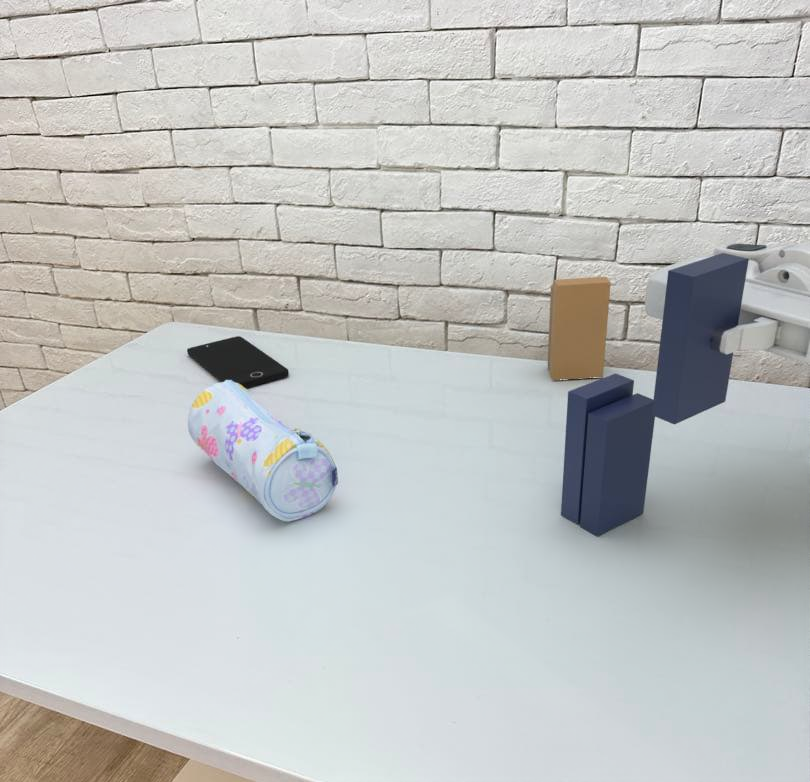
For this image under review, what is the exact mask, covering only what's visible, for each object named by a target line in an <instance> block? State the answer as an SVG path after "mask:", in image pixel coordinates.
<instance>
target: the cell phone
mask: <svg viewBox="0 0 810 782" xmlns="http://www.w3.org/2000/svg"><path fill="white" fill-rule="evenodd" d="M186 353H187V355H188V356H190V357H191V358H192V359H193V360H194V361H196V362H197V363H198V364H199V365H201V366H202V367H203V368H204V369H205V370H207V372H209V373H211V375H213V376H214V377H215V378H216V379H217V380H219V381H220V382H224V381H225V380H232V381H233V382H235V383H239V384H240V385H242V386H243V387H244V388H246V389H247V388H250V387H255V386H258V385H262V384H265V383H268V382H272V381H277V380H280V379H284V378H286V377H288V376H289V374H290V373H289V369H288V368H287V367H285V366H284V365H282V364H281V362H278V361H277V360H275V359H274V358H272V356H270V355H269V354H267V353H266V352H264V351H263V350H261V349H259V348H258V347H257V346H256V345H254V344H252V343H251V342H250V341H248V340H247V339H245V338H244V337H242V336H241V335H237V336H232V337H229V338H224V339H221V340H216V341H212V342H208V343H204V344H200V345H195V346H191V347H188V348H187V349H186Z"/></svg>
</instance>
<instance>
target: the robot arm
mask: <svg viewBox="0 0 810 782" xmlns="http://www.w3.org/2000/svg"><path fill="white" fill-rule="evenodd" d="M721 253H726V254H730V255H735V256H739V257H744V258H748V259H749V261H748V267H747V273H746V279H745V285H744V291H743V297H742V303H741V309H740V315H739V321H738V326H733V325H729V324H726V325H723V326H721V327H718V328H716V329H715V330H714V331H713V333H712V337H711V338H712V342H711V344H710V348H711V349H712V350H715V351H718V352H721V353H724V354H730V353H732V352H733V353H734V352H735V353H736V352H737V351H763V352H766V353H770V354H772V355H776V356H779V357H783V358H786V359H789V360H792V361H795V362H799V363H802V364H805V365H809V366H810V239H809V240H807V241H806V240H805V241H803V242H800V243H798V242H796V241H795V242H793V241H792V242H786V243H780V244H768V245H766V244H752V243H751V244H750V243H730V242H729V243H727V242H726V243H721V244H720V245H717V246H716V247H714V250H713V254H705V255H698V256H694V257H690V258H687V259H684V260H681V261H678V262H675V263H673V264H670V265H667V266H665V267H662V268H659V269H657V270H656V271H654V272H652V273H651V274H650V275H649V276H648V279H647V283H646V289H645V296H644V312H645V314H646V315H647V316H649V317H652V318H655V319H658V320H661V321H663V313H664V304H665V295H666V286H667V278H668V271H669V270H672V269H675V268H678V267H681V266H684V265H687V264H690V263H693V262H696V261H700V260H703V259H706V258H709V257H712V256H715V255H718V254H721Z"/></svg>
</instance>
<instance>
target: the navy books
mask: <svg viewBox="0 0 810 782" xmlns="http://www.w3.org/2000/svg"><path fill="white" fill-rule="evenodd" d="M634 387H635V379H631V378H629V377H627V376H623V375H621V374H618V373H616V372H615V373H612V374H610V375H608V376H604V377H603V378H598V379H596V380H594V381H591V382H589V383H587V384H583V385H581V386H578V387H577V388H574V389H570V390H568V391H567V403H566V405H567V406H566V419H565V421H566V422H565V438H564V452H563V453H564V454H563V469H562V471H563V473H562V487H561V488H562V490H561V507H560V515H561V516H562V517H564V518H565V519H567V520H569V521H571V522H573V523H575V524H576V525H579V527H580V528H582V529H583V530H585V531H587V532H588V533H590V534H592V535H594V536H595V537H599V536H602V535H604V534H605V533H606V534H607V532H609V531H611V530H612V531H613V530H614V529H615V528H619V526H622V525H623V524H625V523H627V522H630V521H632V520H634V519H635V518H638V517H639V516H641V515H643V514H644V510H645V502H646V493H647V485H648V479H649V471H650V461H651V453H652V444H653V436H654V429H655V420H656V417H655V416H652V409H653V400H654V398H651V397H649V396H646V395H643V394H640V393H634Z"/></svg>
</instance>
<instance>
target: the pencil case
mask: <svg viewBox="0 0 810 782" xmlns="http://www.w3.org/2000/svg"><path fill="white" fill-rule="evenodd" d="M187 429H188V433H189V435H190V438H191V439H192V440H193V442H194V443H195V445H197V447H199V449H201V450H202V451H203V452H204V453H205V454H206V455H207V456H208V457H209V459H211V460H212V461H213V462H214V463H215V464H216V465H217V466H218V467H219V468H220V469H221V470H223V471H224V472H225V473H227V474H228V475H229V476H230V477H231V478H232V479H233V480H234V481H236V482H237V483H238V484H239V485H240V486H242V487H243V489H245V490H246V492H248V493H249V494H250V495H251V496H253V497H254V498H255V499H256V500H257V502H259V503H260V504H261V505H262V506H263V508H264V509H265V511H266V512H268V513H269V514H270V515H271V516H273V517H274V518H276V519H278V520H280V521H282V522H293V521H297V520H300V519H303V518H306V517H309V516H311V515H313V514H315V513H317V512H319V511H320V510H321V509H322V508H323V507H325V506H326V505H327V504H328V503H329V501H330V500H331V498H332V497H333V495H334V493H335V490H336V488H337V485H339V475H338V468H337V466H336V464H335V461H334V458H333V456H332V455H331V453H330V452H329V450H328V448H326V446H325V445H324V444H323V443H322V442H321V441H320V440H319V439H318V438H315V436H313V435H312V433H310V432H308V431H304V430H302V429H300V428H299V427H297V426H294V427H293V428H292V429H290V428H289V427H288V426H287V425H285V424H284V423H283V422H282V421H281V420H279V419H278V418H277V417H276V416H275V415H274V414H273V413H272V412H271V411H270V410H269V409H268V408H266V407H265V406H263V404H261V402H259V401H258V399H256V398H254V397H253V396H252V394H251V393H250V391H249V390H248V389H247V388H244V387H243V386H242V385H240V384H239V383H235V382H233V381H232V380H225V381H224V382H221V381H220V382H215V383H214V384H212V385H209V386H207V387H205V388H204V389H202V390H200V392H198V394H197V395H196V397H195V398H194V399H193V401H192V403H191V405H190V408H189V411H188V415H187Z"/></svg>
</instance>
